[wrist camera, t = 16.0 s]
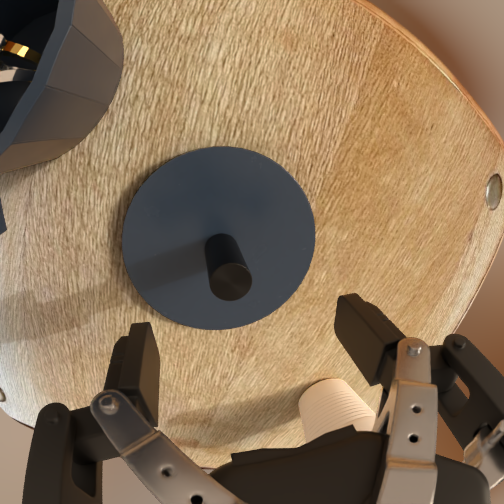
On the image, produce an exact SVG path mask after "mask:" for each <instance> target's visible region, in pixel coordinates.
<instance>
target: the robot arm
mask: <svg viewBox="0 0 504 504" xmlns="http://www.w3.org/2000/svg"><path fill="white" fill-rule="evenodd" d="M334 330H335V334H336V336H337V338H338V339H339V341H340V342H341V344H342V345H343V347H344V348H345V350H346V351H347V352H348V354H349V355H350V357H351V358H352V360H353V361H354V363H355V364H356V366H357V367H358V369H359V370H360V371H361V373H362V374H363V376H364V377H365V379H366V380H367V382H368V383H369V385H370V386H374V385H377V384H379V383H381V385H382V386H383V387H382V389H381V392H380V398H379V403H378V408H377V413H376V418H375V423H374V426H373V429H372V431H356V429H355V427H354V426H353V424H351V425H348V426H346V427H343V428H340V429H336V430H333V431H330V432H327V433H324V434H323V435H321V436H319V437H317V438H315V439H314V440H312V441H310V442H308V443H306V444H304V445H302V446H300V447H298V448H262V449H257V450H251V451H245V452H239V453H232V454H231V458H232V461H231V462H229V463H226V464H224V465H222V466H220V467H218V468H217V469H215V470H213V471H212V472H211V473H210V474H207V473H206V472H205V471H203V470H202V469H201V468H200V467H199V466H198V465H196V464H195V463H194V462H193V461H192V460H191V459H190V458H189V457H188V456H186V455H185V454H184V453H183V452H182V451H181V450H180V449H179V448H178V447H177V446H176V445H175V444H174V443H173V442H172V441H171V440H170V439H169V438H168V437H167V436H166V435H165V434H164V433H162V432H161V431H160V430H158V431H157V430H156V429H155V428H154V427H158V401H159V377H160V356H159V351H158V347H157V344H156V341H155V337H154V334H153V330H152V327H151V324H150V322H144V323H132V324H131V327H130V331H129V336H121V337H120V339H119V340H118V341H117V342H116V344H115V345H114V349H113V352H112V356H111V360H110V364H109V368H108V372H107V377H106V381H105V386H104V390H103V391H102V392H100V393H99V394H97V395H96V396H95V397H94V398H93V400H92V402H91V405H90V406H87V407H84V408H80V409H76V410H72V411H69V409H68V408H67V407H66V406H65V405H64V404H61V403H51V404H48V405H46V406H45V407H43V408H42V409H41V411H40V412H39V414H38V417H37V421H36V425H35V429H34V434H33V438H32V442H31V447H30V452H29V457H28V463H27V469H26V475H25V482H24V490H23V499H22V504H102V463H103V462H102V461H103V460H107V459H111V458H115V457H119V456H121V457H122V459H123V460H124V461H125V462H126V463H127V465H128V466H129V468H130V469H131V470H132V471H133V472H134V474H135V475H136V476H137V477H138V478H139V480H140V481H141V482H142V483H143V484H144V485H145V486H146V488H147V489H148V490H149V491H150V492H151V493H152V494H153V495H154V496H155V497H156V498H157V499H158V501H159V502H160V503H161V504H491V501H490V489H492V488H493V487H494V486H496V485H497V484H499V483H500V482H502V481H503V480H504V377H503V376H502V374H501V373H500V372H499V371H498V370H497V369H496V368H495V367H494V366H493V365H492V364H491V363H490V361H489V360H488V359H487V358H486V357H485V356H484V355H483V354H482V353H481V352H480V351H479V350H478V349H477V348H476V347H475V346H474V345H473V344H472V343H471V342H470V341H469V340H468V339H467V338H466V337H464V336H462V335H459V334H450V335H448V336H446V338H445V340H444V342H443V345H437V346H428V345H427V344H426V343H425V342H424V341H423V340H421V339H418V338H414V337H406V336H405V335H404V334H403V333H402V332H401V331H400V330H399V329H398V328H397V327H396V326H395V325H394V324H393V323H392V322H391V321H390V320H389V319H388V318H387V316H386V315H383V312H382V311H381V310H380V309H379V308H378V307H377V306H375V305H373V304H371V303H369V302H365V301H364V300H363V299H362V298H361V297H360V296H359V295H358V294H357V293H352V294H347V295H342V296H339V298H338V301H337V308H336V315H335V322H334ZM458 376H459V377H460V379H461V380H462V381H463V382H464V383H465V385H466V386H467V387H468V389H469V391H470V397H469V399H467V397H466V396H465V395H464V393H463V392H462V391H461V390H460V389H459V387H458V386H457V384H456V383H455V381H456V380H457V378H458ZM437 412H439V414H440V415H441V417H442V418H443V420H444V421H445V423H446V424H447V426H448V427H449V429H450V430H451V432H452V433H453V435H454V436H455V438H456V439H457V441H458V442H459V444H460V446H461V447H462V449H463V450H464V460H463V462H459V461H455V460H452V459H449V458H446V457H443V456H440V455H437V454H435V451H436V438H437V414H438V413H437Z"/></svg>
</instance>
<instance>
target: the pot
mask: <svg viewBox="0 0 504 504" xmlns="http://www.w3.org/2000/svg"><path fill="white" fill-rule="evenodd" d="M0 34H2V35H3V36H4V38H5V40H8V41H11V42H14V43H17V44H20V45H23V46H25V47H28V48H30V49H32V50H34V51H36V52H38V53H40V54H41V55H42V56H41V59H40V61H39V64H38V66H36V65H34V64H32V63H29V62H27V61H25V60H22V59H18V58H14V57H9V56H3V55H2V57H1V58H0V60H1V61H3V62H5V63H6V64H5V65H9V66H13V67H18V68H23V69H28V70H36V72H35V74H34V77H33V80H32V82H29V81H6V82H0V175H1V174H4V173H7V172H10V171H14V170H17V169H21V168H24V167H28V166H31V165H35V164H38V163H42V162H45V161H49V160H53V159H56V158H58V157H60V156H61V155H63V154H65V153H66V152H68V151H69V150H71V149H72V148H74V147H75V146H76V145H77V144H79V143H80V142H81V141H82V140H83V139H84V138H85V137H86V136H87V135H88V134H89V133H90V132H91V131H92V130H93V129H94V127H95V126H96V125H97V124H98V123H99V121H100V120H101V118H102V117H103V115H104V114H105V112H106V111H107V109H108V107H109V105H110V103H111V102H112V99H113V97H114V95H115V93H116V90H117V87H118V84H119V81H120V78H121V73H122V69H123V60H124V48H123V38H122V35H121V33H120V31H119V28H118V26H117V25H116V23H115V21H114V18H113V16H112V14H111V13H110V11H109V10H108V8H107V7H106V5H105V4H104V2H103V1H102V0H0ZM6 230H7V227H6V223H5V219H4V214H3V209H2V204H1V198H0V235H1V234H2V233H4V232H5V231H6Z"/></svg>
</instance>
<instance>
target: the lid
mask: <svg viewBox="0 0 504 504" xmlns="http://www.w3.org/2000/svg"><path fill="white" fill-rule="evenodd" d="M314 246H315V223H314V217H313V213H312V209H311V206H310V203H309V201H308V199H307V197H306V195H305V193H304V191H303V190H302V188H301V187H300V185H299V184H298V182H297V181H296V180H295V179H294V178H293V176H292V175H291V174H290V173H289V172H288V171H286V170H285V169H284V168H283V167H282V166H281V165H279V164H278V163H276V162H275V161H273V160H271V159H270V158H268V157H266V156H264V155H261V154H259V153H257V152H254V151H250V150H247V149H243V148H237V147H229V146H213V147H206V148H200V149H196V150H193V151H189V152H186V153H184V154H182V155H179V156H177V157H175V158H173V159H171V160H170V161H168V162H167V163H165V164H163V165H162V166H161V167H159V168H158V169H157V170H156V171H155V172H154V173H152V174H151V175H150V176H149V177H148V178H147V180H146V181H145V182H144V183H143V184H142V185H141V186H140V188H139V189H138V191H137V193H136V194H135V196H134V197H133V199H132V201H131V203H130V206H129V208H128V210H127V213H126V217H125V220H124V224H123V231H122V252H123V259H124V263H125V266H126V270H127V273H128V275H129V277H130V279H131V281H132V283H133V285H134V286H135V288H136V290H137V291H138V293H139V294H140V295H141V296H142V298H143V299H144V300H145V301H146V302H147V303H148V304H149V305H150V306H151V307H152V308H153V309H155V310H156V311H157V312H159V313H160V314H162V315H163V316H165V317H167V318H169V319H170V320H172V321H174V322H177V323H180V324H182V325H185V326H189V327H193V328H198V329H205V330H224V329H232V328H237V327H241V326H245V325H248V324H251V323H253V322H256V321H258V320H260V319H262V318H264V317H266V316H267V315H269V314H271V313H272V312H274V311H275V310H276V309H278V308H279V307H280V306H282V305H283V304H284V303H285V302H286V301H287V300H288V299H289V298H290V297H291V296H292V295H293V293H294V292H295V291H296V290H297V288H298V287H299V285H300V284H301V283H302V281H303V279H304V277H305V275H306V273H307V271H308V269H309V266H310V263H311V261H312V257H313V253H314Z"/></svg>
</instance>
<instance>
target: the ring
mask: <svg viewBox="0 0 504 504" xmlns="http://www.w3.org/2000/svg"><path fill="white" fill-rule="evenodd" d="M2 55H3V56H9V57H14V58H18V59H22V60H25V61H27V62H29V63H32V64H34V65H36V66H38V64H39V61H40V59H41V56H42V55H41V54H40V53H38V52H36V51H34V50H32V49H30V48H28V47H25V46H23V45H20V44H17V43H14V42H11V41H8V40H5V38H4V36H3V35H2V34H0V58H1V57H2ZM5 64H6V63H5V62H3V61H1V60H0V82H6V81H29V82H32V80H33V77H34V74H35V72H36V70H28V69H23V68H18V67H13V66H9V65H5Z"/></svg>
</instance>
